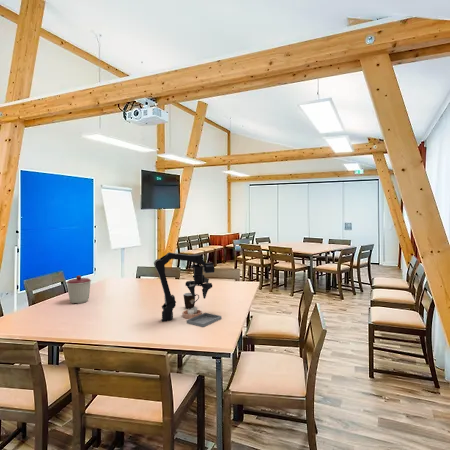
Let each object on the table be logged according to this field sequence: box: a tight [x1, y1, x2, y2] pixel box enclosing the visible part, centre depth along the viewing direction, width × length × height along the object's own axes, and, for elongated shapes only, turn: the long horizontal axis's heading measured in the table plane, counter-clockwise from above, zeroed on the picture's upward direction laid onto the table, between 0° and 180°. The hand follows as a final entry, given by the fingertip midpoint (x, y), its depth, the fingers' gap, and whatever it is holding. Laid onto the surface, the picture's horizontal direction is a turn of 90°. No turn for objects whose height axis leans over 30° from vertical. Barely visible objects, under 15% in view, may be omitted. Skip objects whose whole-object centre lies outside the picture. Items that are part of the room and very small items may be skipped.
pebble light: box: [187, 309, 194, 315], centre depth 208 cm, size 4×4×4 cm
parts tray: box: [186, 312, 222, 328], centre depth 199 cm, size 18×13×3 cm
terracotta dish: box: [181, 309, 203, 320], centre depth 210 cm, size 12×12×3 cm
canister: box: [65, 274, 92, 304], centre depth 254 cm, size 18×18×21 cm
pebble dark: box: [191, 306, 198, 314], centre depth 213 cm, size 4×4×4 cm
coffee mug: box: [182, 292, 200, 310], centre depth 232 cm, size 12×9×10 cm
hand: (199, 297), depth 210 cm, fingers open, 9 cm apart
